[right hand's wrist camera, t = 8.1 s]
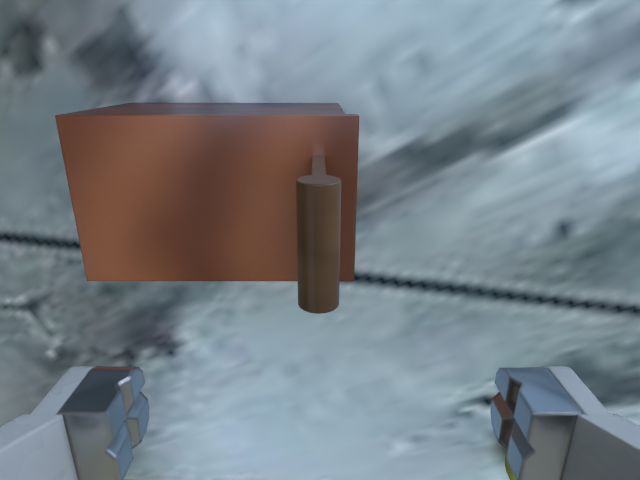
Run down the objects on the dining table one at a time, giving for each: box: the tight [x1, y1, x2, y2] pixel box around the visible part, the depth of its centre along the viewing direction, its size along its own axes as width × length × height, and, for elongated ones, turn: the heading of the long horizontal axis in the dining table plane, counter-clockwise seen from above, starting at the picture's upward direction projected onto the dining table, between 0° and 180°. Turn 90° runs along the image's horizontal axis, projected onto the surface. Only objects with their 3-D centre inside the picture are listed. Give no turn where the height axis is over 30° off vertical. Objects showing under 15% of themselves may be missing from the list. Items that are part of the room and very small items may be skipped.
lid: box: [55, 114, 359, 313], centre depth 22 cm, size 16×10×8 cm, turn 90°
